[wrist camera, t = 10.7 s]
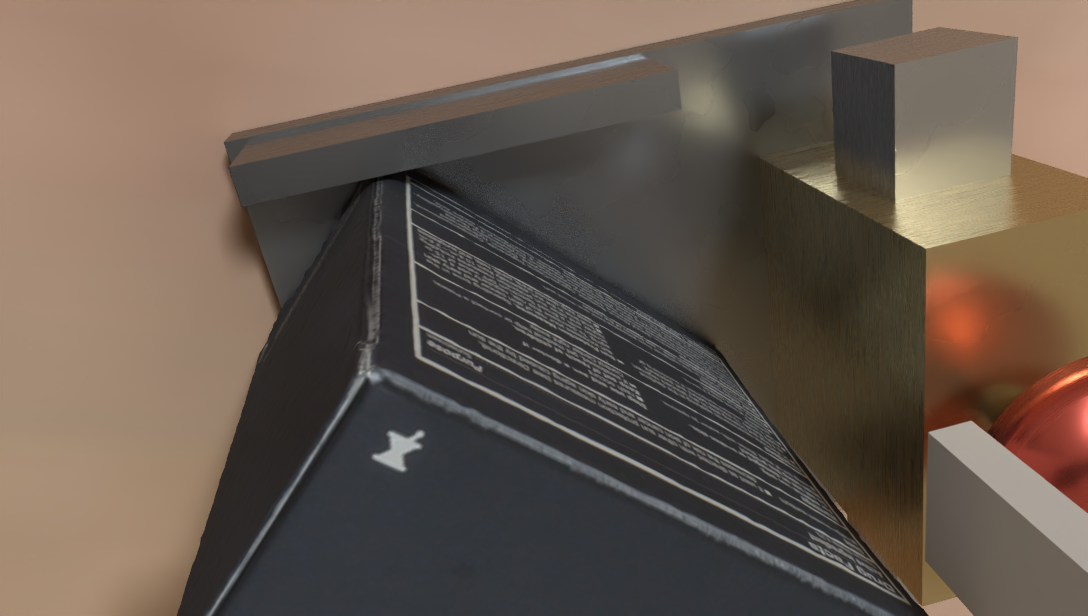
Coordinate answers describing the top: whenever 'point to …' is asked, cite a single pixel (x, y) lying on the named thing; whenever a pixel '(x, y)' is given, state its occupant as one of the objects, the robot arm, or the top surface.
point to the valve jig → (771, 230)
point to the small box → (506, 447)
